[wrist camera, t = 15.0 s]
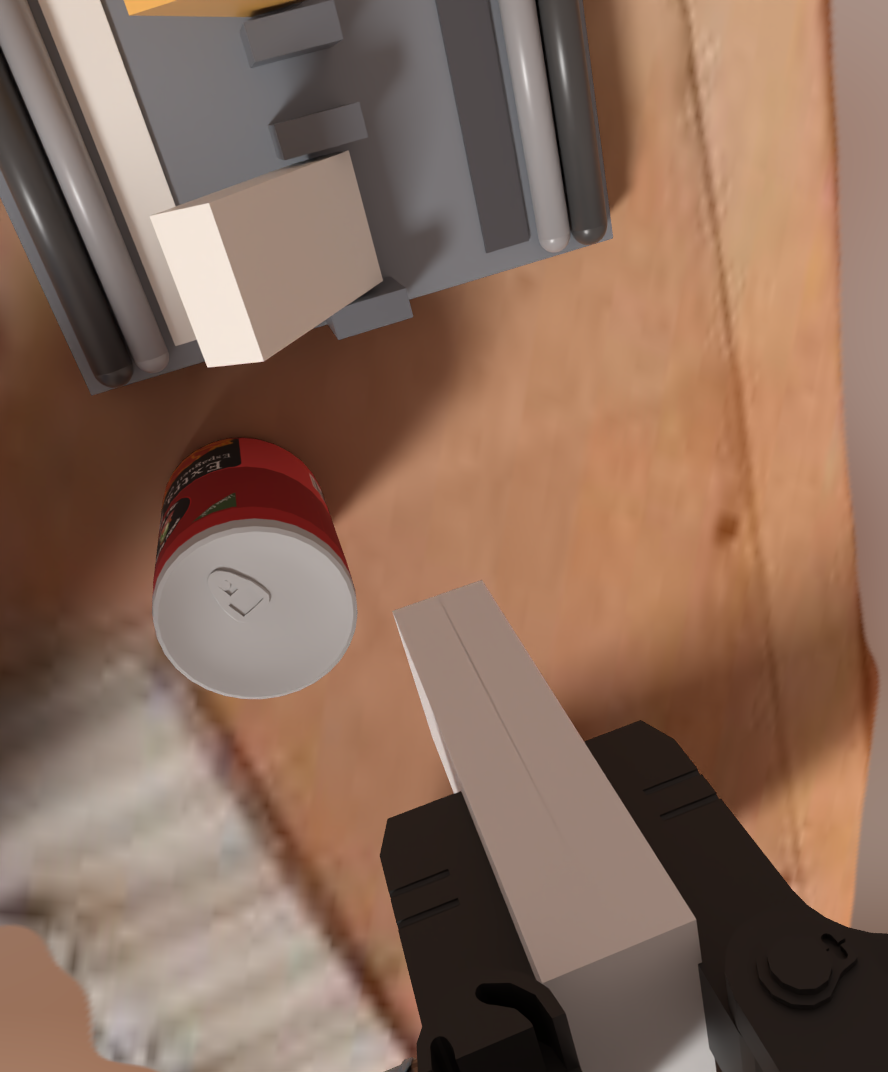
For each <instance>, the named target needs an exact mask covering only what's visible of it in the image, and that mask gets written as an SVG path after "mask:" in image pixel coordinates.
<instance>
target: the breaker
mask: <svg viewBox="0 0 888 1072" xmlns="http://www.w3.org/2000/svg"><path fill="white" fill-rule="evenodd" d="M150 219H151V221H152V224H153V227H154V229H155V232H156V234H157V237H158V240H159V242H160V245H161V247H162V250H163V253H164V255H165V258H166V260H167V263H168V266H169V268H170V271H171V274H172V276H173V279H174V281H175V284H176V287H177V289H178V292H179V294H180V297H181V300H182V302H183V305H184V307H185V310H186V313H187V315H188V318H189V321H190V323H191V326H192V328H193V331H194V334H195V336H196V339H197V341H198V344H199V347H200V349H201V352H202V354H203V357H204V360H205V362H206V365H207V368H208V367H217V366H227V365H236V364H246V363H255V362H264V361H266V360H267V359H268V358H270V357H271V356H273V355H274V354H276V353H277V352H279V351H280V350H282V349H283V348H285V347H286V346H288V345H289V344H291V343H292V342H294V341H295V340H297V339H298V338H299V337H301V336H302V335H304V334H305V333H307V332H308V331H310V330H311V329H313V328H314V327H316V326H317V325H319V324H320V323H322V322H323V321H325V320H326V319H327V318H329V317H330V316H332V315H333V314H335V313H336V312H338V311H339V310H341V309H342V308H344V307H345V306H347V305H348V304H350V303H351V302H353V301H354V300H355V299H357V298H358V297H360V296H361V295H363V294H364V293H366V292H367V291H369V290H370V289H372V288H373V287H375V286H376V285H378V284H379V283H381V282H382V281H383V279H382V275H381V271H380V267H379V264H378V260H377V256H376V252H375V248H374V245H373V241H372V237H371V233H370V229H369V226H368V222H367V218H366V214H365V210H364V207H363V203H362V199H361V195H360V191H359V188H358V184H357V180H356V176H355V172H354V169H353V165H352V161H351V157H350V153H349V150H348V151H344V152H343V151H339V152H334V153H330V154H326V155H322V156H318V157H315V158H311V159H308V160H305V161H301V162H297V163H294V164H291V165H289V166H286V167H283V168H280V169H278V170H275V171H272V172H269V173H267V174H264V175H261V176H258V177H256V178H253V179H250V180H247V181H245V182H242V183H239V184H236V185H234V186H231V187H228V188H225V189H222V190H220V191H217V192H214V193H211V194H209V195H206V196H203V197H200V198H198V199H195V200H192V201H189V202H187V203H184V204H181V205H178V206H176V207H173V208H170V209H167V210H165V211H162V212H159V213H156V214H154V215H151V216H150Z"/></svg>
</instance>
